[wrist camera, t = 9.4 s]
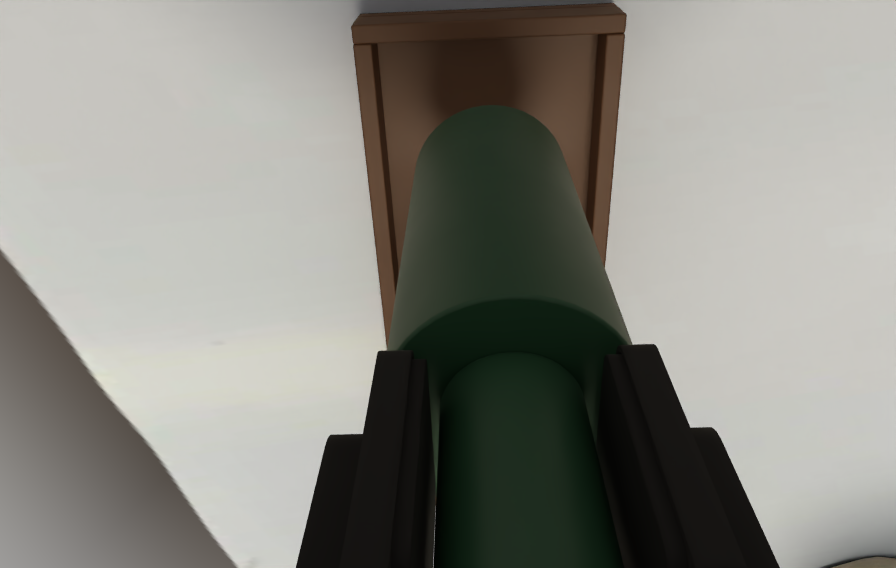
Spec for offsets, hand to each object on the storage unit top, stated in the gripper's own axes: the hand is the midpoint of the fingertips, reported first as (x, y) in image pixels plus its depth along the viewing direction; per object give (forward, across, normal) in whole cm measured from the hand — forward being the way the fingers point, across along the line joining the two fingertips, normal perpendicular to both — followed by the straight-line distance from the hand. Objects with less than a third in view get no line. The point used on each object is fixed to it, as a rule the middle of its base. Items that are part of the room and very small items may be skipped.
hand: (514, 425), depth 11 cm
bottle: (+10, 0, 0) cm, 10 cm away
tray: (+17, 0, +7) cm, 18 cm away
